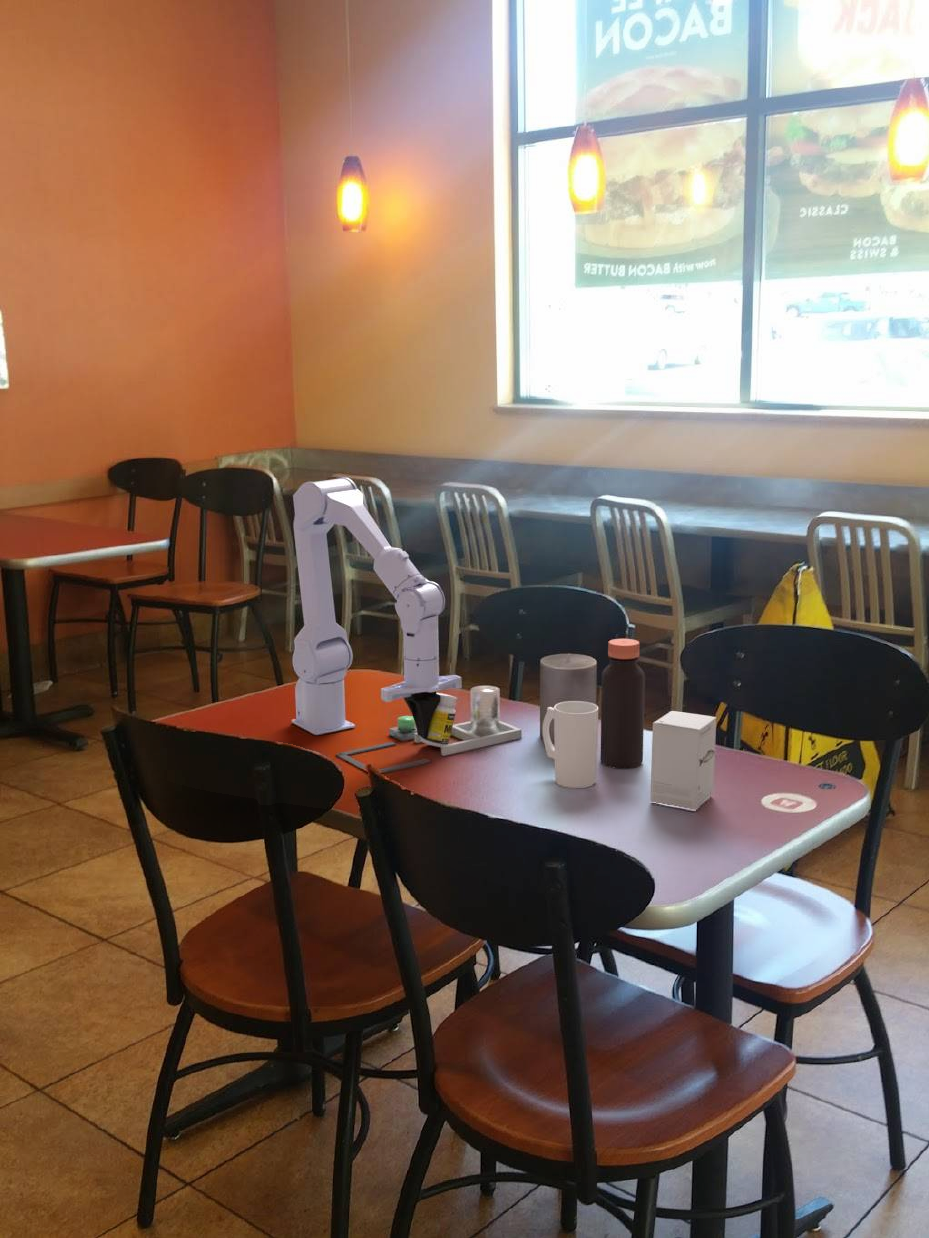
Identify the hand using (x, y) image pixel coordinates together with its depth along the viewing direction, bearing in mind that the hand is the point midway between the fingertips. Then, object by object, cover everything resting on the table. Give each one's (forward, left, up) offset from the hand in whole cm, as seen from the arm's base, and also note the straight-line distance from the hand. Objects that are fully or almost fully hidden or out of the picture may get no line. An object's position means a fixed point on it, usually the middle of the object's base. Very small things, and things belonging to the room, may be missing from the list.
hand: (422, 735), depth 206 cm
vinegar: (+24, +23, -3) cm, 33 cm away
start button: (-8, +2, -2) cm, 9 cm away
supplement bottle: (0, +2, -2) cm, 3 cm away
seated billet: (0, +13, -3) cm, 13 cm away
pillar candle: (+9, +24, -3) cm, 26 cm away
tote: (0, -7, -3) cm, 8 cm away
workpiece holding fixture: (0, +9, -3) cm, 9 cm away
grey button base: (-8, +2, -3) cm, 9 cm away
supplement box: (+42, +19, -3) cm, 46 cm away
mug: (+25, +11, -3) cm, 27 cm away
